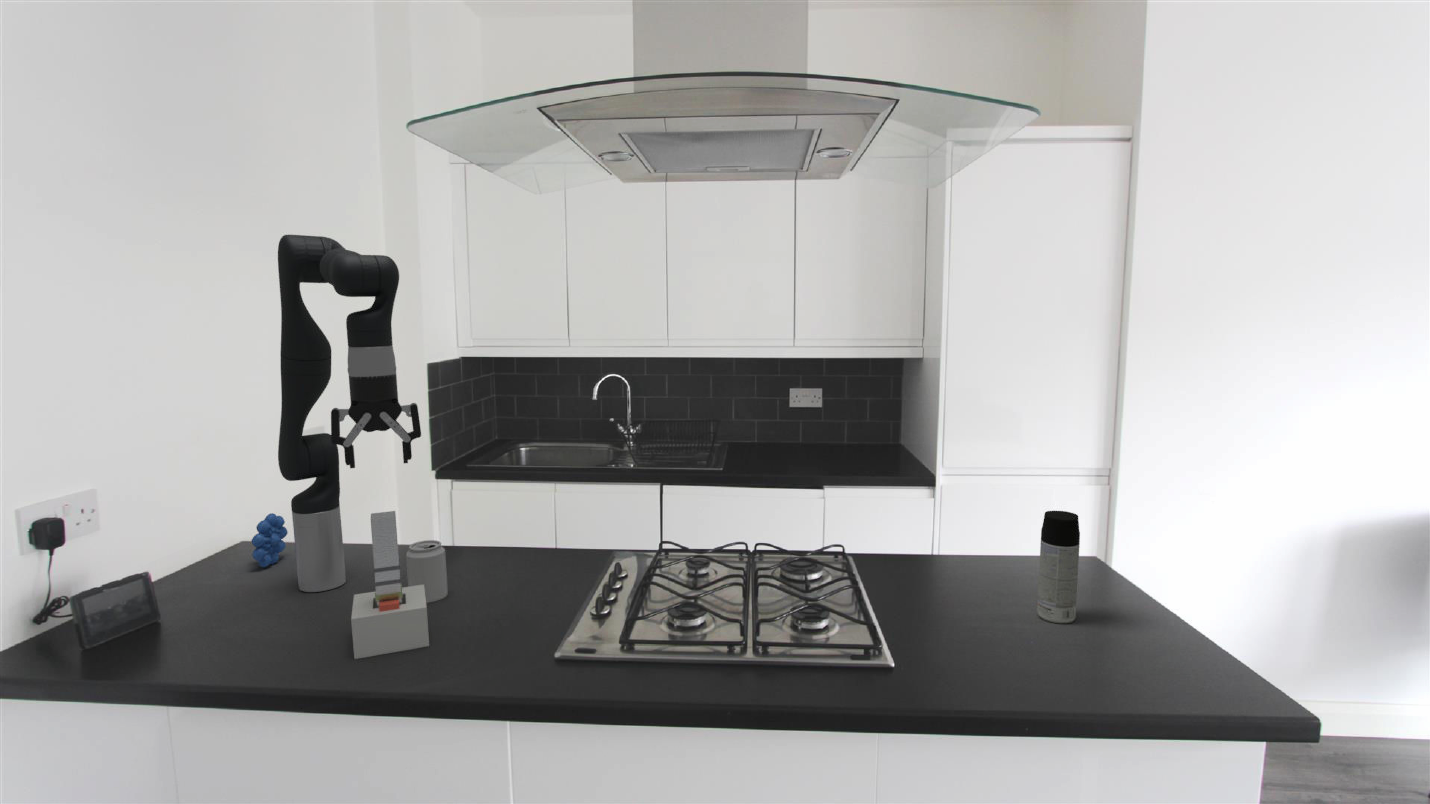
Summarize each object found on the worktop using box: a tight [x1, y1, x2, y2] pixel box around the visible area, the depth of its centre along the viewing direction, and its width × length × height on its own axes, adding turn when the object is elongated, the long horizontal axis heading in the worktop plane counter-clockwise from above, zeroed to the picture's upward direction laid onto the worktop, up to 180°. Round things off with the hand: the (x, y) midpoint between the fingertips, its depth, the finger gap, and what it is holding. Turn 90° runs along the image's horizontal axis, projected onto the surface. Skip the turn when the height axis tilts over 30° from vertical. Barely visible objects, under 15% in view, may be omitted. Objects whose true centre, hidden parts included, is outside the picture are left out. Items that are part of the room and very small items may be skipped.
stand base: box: [350, 585, 430, 660], centre depth 139 cm, size 14×14×9 cm
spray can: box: [1037, 510, 1081, 624], centre depth 145 cm, size 7×7×20 cm
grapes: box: [251, 513, 289, 568], centre depth 182 cm, size 12×7×12 cm, turn 177°
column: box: [370, 510, 403, 608], centre depth 137 cm, size 4×4×16 cm
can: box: [405, 539, 449, 604], centre depth 158 cm, size 8×8×12 cm
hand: (379, 465), depth 135 cm, fingers open, 8 cm apart
